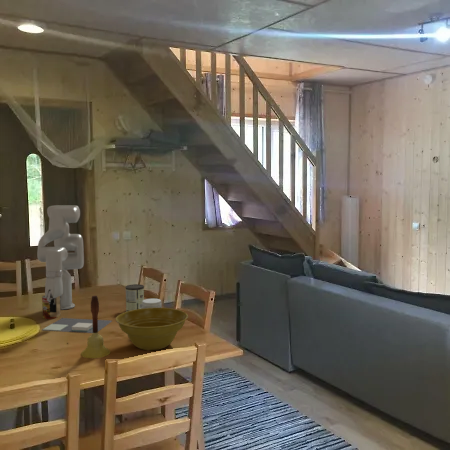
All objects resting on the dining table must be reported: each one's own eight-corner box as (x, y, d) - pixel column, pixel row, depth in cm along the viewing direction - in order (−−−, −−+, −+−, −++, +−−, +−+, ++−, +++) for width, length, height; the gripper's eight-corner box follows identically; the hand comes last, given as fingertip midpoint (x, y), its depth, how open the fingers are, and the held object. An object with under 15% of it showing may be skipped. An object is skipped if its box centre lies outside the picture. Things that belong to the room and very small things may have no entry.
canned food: (43, 321, 268) (42, 298, 267) (42, 317, 275) (41, 295, 274) (58, 319, 271) (58, 297, 270) (57, 315, 278) (57, 294, 277)
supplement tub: (158, 325, 261) (158, 297, 259) (164, 330, 252) (164, 301, 251) (140, 328, 256) (139, 299, 255) (145, 333, 248) (145, 303, 247)
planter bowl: (101, 352, 222) (100, 321, 220) (140, 331, 251) (139, 304, 250) (167, 362, 210) (167, 330, 209) (199, 339, 240) (199, 311, 238)
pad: (42, 330, 250) (42, 329, 250) (51, 324, 259) (51, 324, 258) (59, 331, 248) (59, 330, 248) (68, 325, 257) (68, 324, 257)
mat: (41, 331, 249) (41, 330, 249) (62, 319, 271) (62, 318, 271) (95, 334, 245) (95, 333, 245) (112, 322, 267) (112, 320, 267)
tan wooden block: (50, 316, 251) (49, 292, 250) (53, 314, 255) (53, 291, 254) (57, 317, 251) (56, 292, 250) (60, 315, 254) (59, 291, 253)
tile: (78, 326, 256) (71, 330, 249) (78, 322, 256) (71, 326, 249) (93, 327, 255) (87, 331, 248) (93, 323, 254) (87, 327, 248)
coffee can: (128, 308, 295) (128, 284, 294) (146, 308, 294) (146, 284, 293) (123, 312, 285) (123, 287, 284) (141, 313, 284) (141, 288, 283)
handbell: (77, 358, 214) (76, 299, 212) (85, 348, 226) (84, 292, 224) (106, 358, 214) (105, 299, 212) (113, 348, 226) (112, 292, 224)
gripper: (55, 271, 260) (56, 306, 261) (38, 277, 243) (39, 315, 245) (69, 271, 258) (69, 307, 260) (53, 277, 242) (54, 315, 244)
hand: (55, 310), depth 252 cm, fingers closed on tan wooden block, 3 cm apart
